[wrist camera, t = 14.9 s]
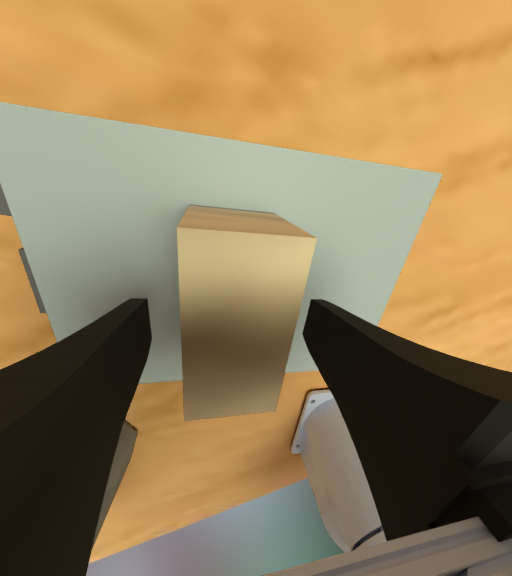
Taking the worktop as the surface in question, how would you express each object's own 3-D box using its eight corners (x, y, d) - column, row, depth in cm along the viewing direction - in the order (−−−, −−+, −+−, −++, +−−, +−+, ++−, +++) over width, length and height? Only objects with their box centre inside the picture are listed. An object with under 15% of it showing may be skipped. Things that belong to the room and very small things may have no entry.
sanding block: (255, 339, 14) (275, 411, 10) (191, 341, 14) (184, 421, 9) (273, 212, 11) (317, 238, 7) (190, 204, 10) (176, 227, 6)
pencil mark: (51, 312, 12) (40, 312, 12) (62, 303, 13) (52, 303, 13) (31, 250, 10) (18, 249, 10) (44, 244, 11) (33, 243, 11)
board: (349, 354, 19) (359, 367, 18) (85, 369, 15) (73, 388, 14) (419, 173, 13) (442, 173, 12) (5, 108, 9) (-31, 97, 7)
